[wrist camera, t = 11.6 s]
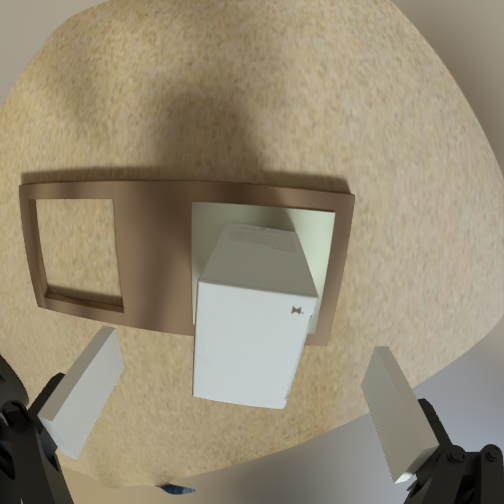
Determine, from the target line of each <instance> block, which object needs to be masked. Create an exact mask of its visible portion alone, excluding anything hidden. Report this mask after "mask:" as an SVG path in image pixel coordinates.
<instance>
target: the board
mask: <svg viewBox="0 0 504 504" xmlns="http://www.w3.org/2000/svg"><path fill="white" fill-rule="evenodd" d="M19 199H20V210H21V220H22V228H23V236H24V242H25V249H26V255H27V260H28V265H29V270H30V275H31V280H32V284H33V289H34V293H35V297H36V301H37V305H38V307H41V308H45V309H49V310H53V311H57V312H61V313H65V314H69V315H74V316H78V317H83V318H87V319H92V320H97V321H102V322H107V323H112V324H118V325H123V326H129V327H134V328H140V329H146V330H153V331H159V332H166V333H173V334H180V335H188V336H194V329H195V310H196V293H197V280H198V279H199V277H200V275H201V273H202V271H203V268H204V266H205V264H206V262H207V260H208V258H209V256H210V254H211V252H212V250H213V248H214V246H215V244H216V242H217V240H218V238H219V236H220V234H221V232H222V230H223V228H224V226H225V224H226V222H233V223H239V224H246V225H253V226H259V227H265V228H272V229H278V230H284V231H290V232H296V233H297V234H298V237H299V240H300V242H301V245H302V248H303V251H304V254H305V257H306V260H307V263H308V266H309V269H310V272H311V275H312V278H313V281H314V284H315V287H316V290H317V293H318V295H319V301H318V304H317V306H316V310H315V313H314V315H313V318H312V321H311V324H310V327H309V330H308V333H307V336H306V340H305V343H304V345H313V346H327V344H328V340H329V336H330V332H331V328H332V324H333V319H334V315H335V310H336V306H337V301H338V296H339V291H340V286H341V281H342V276H343V271H344V266H345V260H346V254H347V248H348V242H349V236H350V230H351V223H352V216H353V209H354V202H355V195H353V194H351V193H343V192H335V191H326V190H317V189H308V188H297V187H287V186H275V185H262V184H248V183H232V182H212V181H186V180H86V181H61V182H44V183H29V184H23V185H19ZM35 199H114V215H115V232H116V246H117V257H118V267H119V276H120V284H121V292H122V299H123V306H117V305H111V304H105V303H100V302H94V301H88V300H83V299H78V298H72V297H67V296H62V295H57V294H53V293H49V289H48V284H47V279H46V274H45V269H44V264H43V258H42V252H41V245H40V238H39V231H38V222H37V212H36V200H35Z"/></svg>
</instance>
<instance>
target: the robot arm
mask: <svg viewBox="0 0 504 504" xmlns="http://www.w3.org/2000/svg"><path fill="white" fill-rule="evenodd" d="M123 370H124V365H123V361H122V357H121V352H120V348H119V343H118V338H117V333H116V328H112V327H107V326H102V328H101V329H100V330H99V331H98V333H97V334H96V335H95V336H94V338H93V339H92V340H91V342H90V343H89V344H88V345H87V347H86V348H85V349H84V351H83V352H82V353H81V355H80V356H79V357H78V359H77V360H76V361H75V363H74V364H73V365H72V367H71V368H70V369H69V371H68V372H67V373H66V374H63V373H60V372H59V373H58V374H57V375H55V376H54V377H52V378H51V379H50V380H49V382H48V383H47V384H46V387H44V388H43V390H42V392H41V393H40V394H39V395H38V397H37V398H36V399H35V401H34V402H33V404H32V405H31V406H30V408H29V409H28V411H27V409H26V407H27V405H28V404H29V399H28V395H27V393H26V390H25V389H24V387H23V385H22V383H21V382H20V380H19V379H18V377H17V376H16V374H15V373H14V372H13V370H12V369H11V368H10V367H9V366H8V364H7V363H6V362H5V361H4V360H3V359H2V358H1V357H0V504H21V499H22V502H23V504H74V503H73V500H72V498H71V495H70V493H69V490H68V487H67V485H66V482H65V479H64V476H63V473H62V470H61V467H60V464H59V461H58V457H57V455H56V453H55V451H56V449H57V447H58V448H59V450H60V451H61V453H62V454H64V455H66V456H68V457H71V458H73V459H76V460H77V458H78V456H79V454H80V452H81V450H82V448H83V446H84V444H85V442H86V440H87V438H88V436H89V434H90V432H91V430H92V428H93V426H94V424H95V422H96V420H97V418H98V416H99V414H100V412H101V411H102V409H103V407H104V405H105V403H106V401H107V399H108V397H109V395H110V393H111V392H112V390H113V388H114V386H115V384H116V382H117V381H118V379H119V377H120V375H121V373H122V371H123ZM361 387H362V390H363V393H364V395H365V398H366V401H367V404H368V407H369V409H370V412H371V415H372V418H373V421H374V423H375V426H376V429H377V432H378V435H379V438H380V441H381V444H382V447H383V451H384V453H385V457H386V460H387V463H388V466H389V469H390V473H391V476H392V479H393V482H394V483H399V482H403V481H407V480H409V479H410V478H411V477H412V476H413V475H414V474H416V477H417V480H416V481H415V482H414V483H413V484H412V485H411V486H410V487H409V488H408V489H407V491H409V490H410V489H411V491H410V492H409V494H408V497H407V498H406V500H405V502H404V504H504V465H503V455H502V451H501V450H500V448H499V447H497V446H496V445H493V444H489V445H486V446H484V448H482V450H481V451H480V452H465V450H464V449H463V448H461V447H460V446H457V445H453V444H452V443H451V441H450V439H449V437H448V435H447V433H446V431H445V429H444V427H443V425H442V423H441V421H439V418H438V416H437V415H436V412H435V410H434V408H433V406H432V405H431V404H430V403H429V402H428V401H427V400H426V399H424V398H423V399H416V397H415V395H414V393H413V391H412V389H411V387H410V385H409V383H408V381H407V380H406V378H405V376H404V374H403V372H402V370H401V369H400V367H399V365H398V363H397V361H396V360H395V358H394V356H393V354H392V352H391V351H390V349H389V347H388V346H381V347H375V348H374V351H373V354H372V357H371V360H370V362H369V365H368V368H367V371H366V373H365V376H364V378H363V381H362V384H361Z"/></svg>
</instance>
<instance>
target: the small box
mask: <svg viewBox="0 0 504 504" xmlns="http://www.w3.org/2000/svg"><path fill="white" fill-rule="evenodd" d="M318 301H319V295H318V293H317V290H316V287H315V284H314V281H313V278H312V275H311V272H310V269H309V266H308V263H307V260H306V257H305V254H304V251H303V248H302V245H301V242H300V240H299V237H298V234H297V233H296V232H290V231H284V230H278V229H272V228H265V227H259V226H253V225H246V224H239V223H233V222H226V224H225V226H224V228H223V230H222V232H221V234H220V236H219V238H218V240H217V242H216V244H215V246H214V248H213V250H212V252H211V254H210V256H209V258H208V260H207V262H206V264H205V266H204V268H203V271H202V273H201V275H200V277H199V279H198V280H197V293H196V310H195V329H194V352H193V389H192V395H193V396H196V397H201V398H205V399H210V400H216V401H222V402H228V403H235V404H242V405H249V406H257V407H266V408H277V409H283V408H285V405H286V401H287V397H288V394H289V390H290V387H291V384H292V381H293V378H294V375H295V372H296V368H297V365H298V362H299V359H300V356H301V352H302V349H303V346H304V343H305V340H306V336H307V333H308V330H309V327H310V324H311V321H312V318H313V315H314V313H315V310H316V306H317V304H318Z"/></svg>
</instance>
